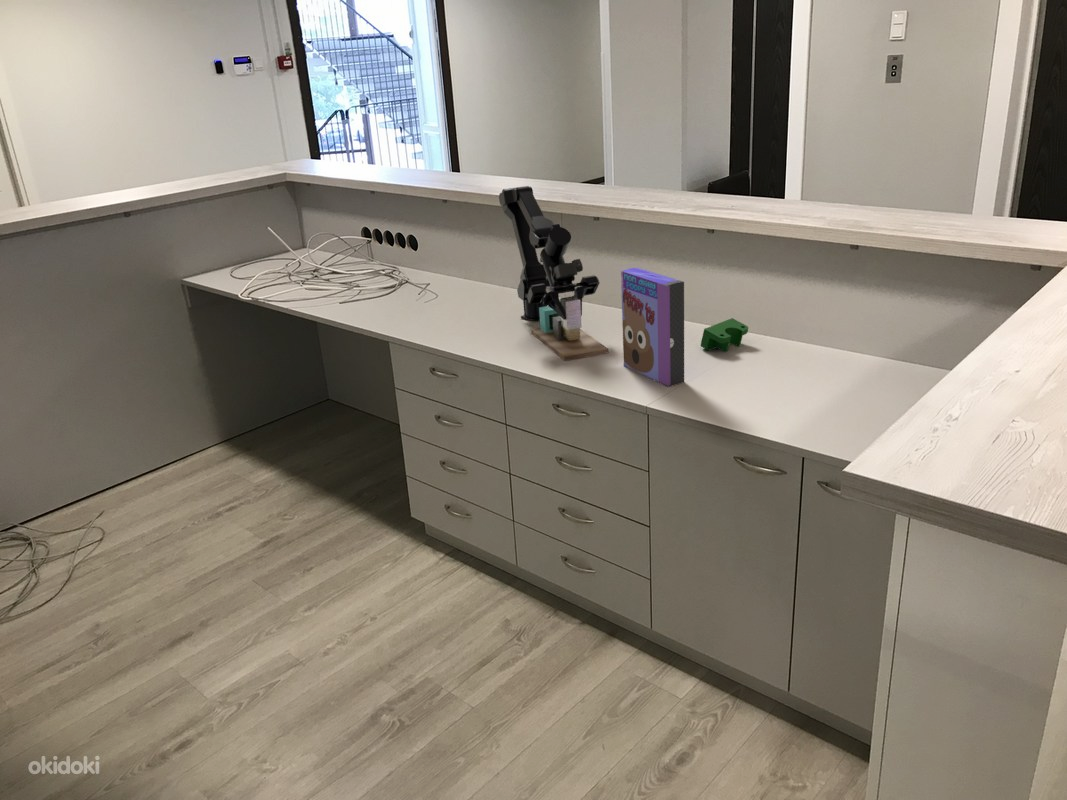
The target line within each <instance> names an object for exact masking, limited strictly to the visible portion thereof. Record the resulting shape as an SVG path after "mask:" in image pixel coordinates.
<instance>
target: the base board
mask: <svg viewBox="0 0 1067 800" xmlns="http://www.w3.org/2000/svg"><path fill="white" fill-rule="evenodd" d="M530 333H531V334H532V335H533V336H534V337H536V338H537V339H538V340H539V341H541V342H542V344H544V345H545V346H547V347H548V349H550V350H551V351H553V352H554V353H555V354H556V355H557V356H559V357H560V358H561V359H562V360H564V361H566V362H567V361H571V360H575V359H582V358H587V357H592V356H596V355H602V354H609V352H610V350H609V348H608V347H607V346H606V345H604V344H603V343H601V342H600V341H598V340H597V339H595V338H594V337H593V336H592V335H590V334H588V333H587V332H585V331H584V330H583V329H581V328H580V339H576V340H571V341H569V340H568V339H566V340H560V341H559V340H558V339H556V338H555V337H554V333H553V332H548V333H545V332H544V331H543V330H541V329H540V327H537V328H532V329H530Z"/></svg>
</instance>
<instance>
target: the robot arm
mask: <svg viewBox="0 0 1067 800" xmlns="http://www.w3.org/2000/svg"><path fill="white" fill-rule="evenodd" d="M498 201H499V205H500V206H501V207H502V210H503V213H504V215H506V217H508V218H509V219H510V221H511V223H512V227H513V232H514V235H515V241H516V244H517V248H518V251H519V255H520V258H521V259H520V260H521V263H522V269H521V272H520V276H519V279H520V281H519V284H518V287H517V290H516V291H517V292H516V293H517V297H518V298H519V299H520V300H522V302H523V303H522V304H523V315H521V316H520V318H521V319H523V320H529V321H534V322H540V314H539V308H540V307H546V306H549V307H550V308H552V309H553V310H554V311H555V312H556V313H557V314H558V315H559V316H561V317H562V318H563V319H564V320H565V319H566V315H565V312H564V309H563V307H562V305H561V302H560V296H559V294H564V293H566V294H567V293H572V296H575V297H577V298H578V299H580V305H581V317H582V316H583V315H582V314H583V298H584V297H585V296H589V295H591V296H592V295H594V294H595V293H596V292H597V290H598V288H599V286H600V283H601V282H600V280H599V278H598V277H597V276H596V275H595V274H592V275H588V276H582V277H581V279H580V282H577V283H573V282H574V281H575V279H576V278H575V277H576V276H578V273H581V272H583V269H584V266H583V263H582V261H581V259H580V258H577V259H573V260H571V262H566V261H565V258H564V256H565V254H566V253H567V250H568V247H569V245H570V243H571V239H572V235H571V232H570V231H568V230H567V229H566V228H564V227H562V226H561V225H560V223H556V224H555V223H554V222H553V221H552V220H551V219H549V218H547V217H545V214H544V213H543V211H542V209H541V207H540V205H539V203H538V201H537V200H536V198H535V196H534V190H533V188H532V186H529V185H526V186H525V185H524V186H517V187H509V188H504V189H502V191H501V192H500V193H499V195H498ZM536 249H542V250H541V251H540V253H539V256H540V257H538V253H537V250H536Z"/></svg>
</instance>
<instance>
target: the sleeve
mask: <svg viewBox="0 0 1067 800" xmlns="http://www.w3.org/2000/svg"><path fill="white" fill-rule="evenodd" d="M561 324H562V323H561V316H557V317H553V333H554V337H555V338H556V339H558V340H559V341H560V340H566V339H567V338H565V337H564V336H563V335H562V333H561Z"/></svg>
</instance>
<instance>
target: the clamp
mask: <svg viewBox="0 0 1067 800" xmlns="http://www.w3.org/2000/svg"><path fill="white" fill-rule="evenodd" d="M748 331H749V326H748V325H746V324H744V323H742V322H741V321H739V320H737V319H735V318H733V317H731V318H730V319H726V320H723V321H721V322H718V323H717V324H716V323H715V324H713V325H711V326H709V327H708V326H707V327H705V328H703V331H702V332H703V333H702V337H701V341H700V347H701V348H703V349H704V350H706V351H708V352H709V351H711V350H713V349H715V348H717V349H719V350H721V351H723V352H724V353H727V352H728V350H729V347H730V344H731V345H734V346H735V347H738V348H739V347H741V343H742V339H743V336H746V335H747V334H748Z"/></svg>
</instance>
